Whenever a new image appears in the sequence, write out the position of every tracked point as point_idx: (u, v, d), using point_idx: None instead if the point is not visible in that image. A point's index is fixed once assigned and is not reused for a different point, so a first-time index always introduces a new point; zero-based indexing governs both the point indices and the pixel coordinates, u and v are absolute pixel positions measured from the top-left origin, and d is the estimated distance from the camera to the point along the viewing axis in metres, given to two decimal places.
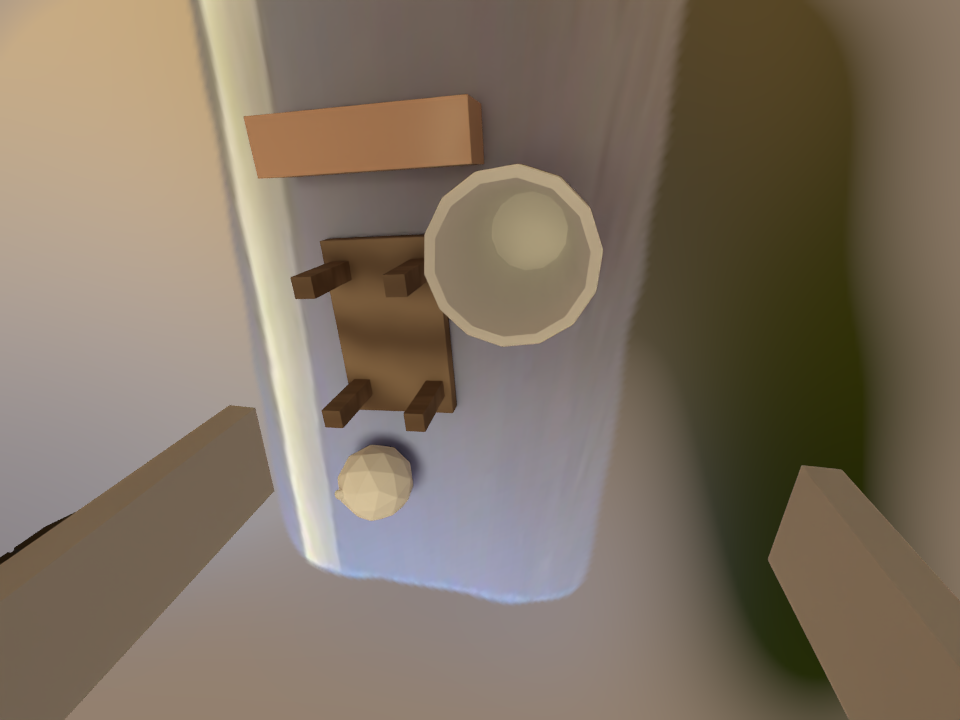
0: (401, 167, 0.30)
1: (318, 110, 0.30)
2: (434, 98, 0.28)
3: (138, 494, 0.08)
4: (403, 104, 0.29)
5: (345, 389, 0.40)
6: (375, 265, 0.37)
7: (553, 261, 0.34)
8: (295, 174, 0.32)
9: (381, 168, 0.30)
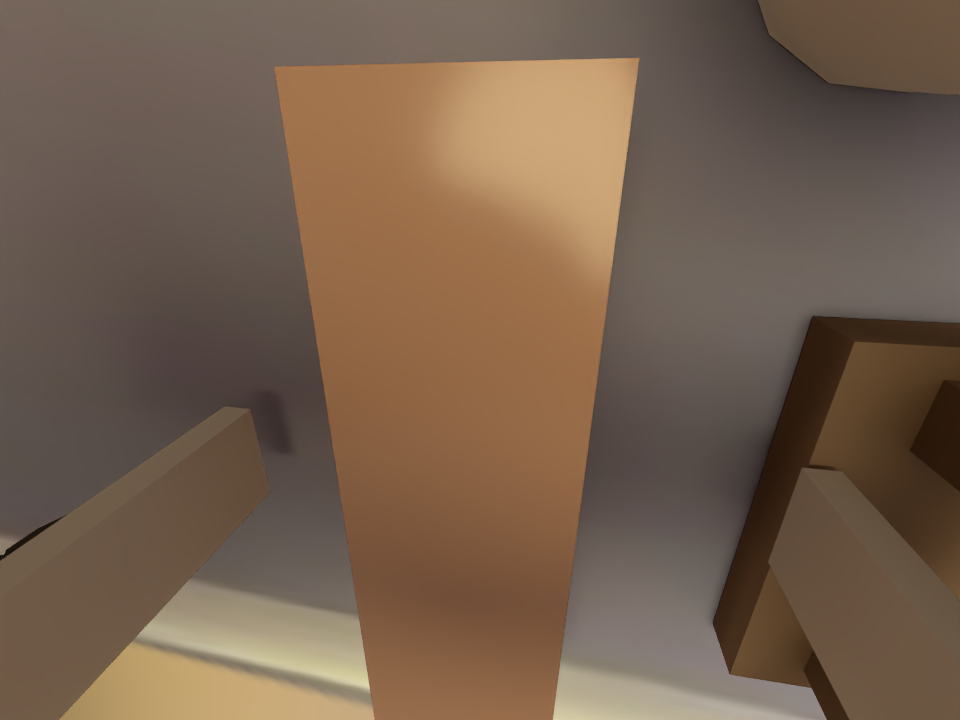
0: (582, 457, 0.06)
1: (367, 649, 0.09)
2: (308, 257, 0.06)
3: (131, 496, 0.08)
4: (338, 397, 0.07)
5: None
6: None
7: None
8: None
9: (571, 531, 0.07)
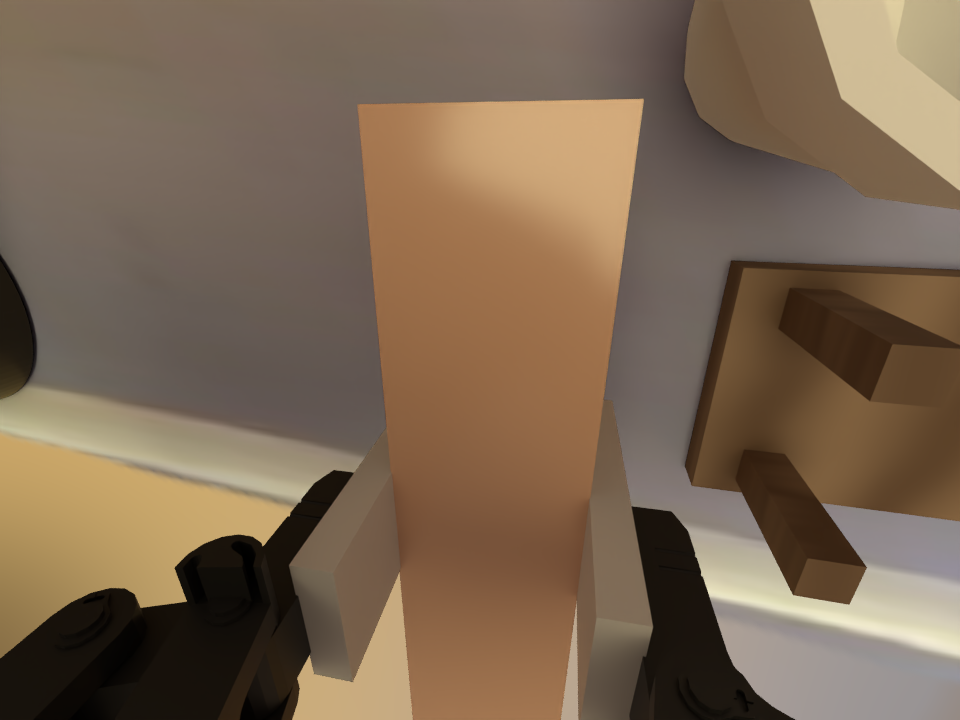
0: (596, 422, 0.08)
1: (405, 599, 0.10)
2: (374, 254, 0.07)
3: None
4: (392, 370, 0.08)
5: None
6: (769, 402, 0.18)
7: None
8: (559, 701, 0.11)
9: (586, 488, 0.08)
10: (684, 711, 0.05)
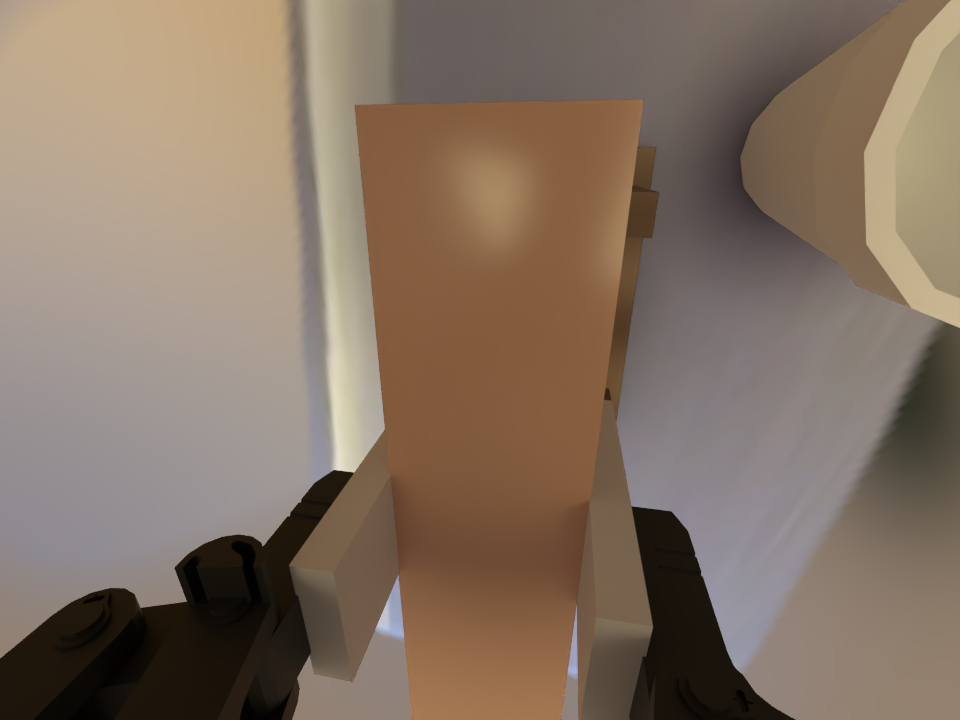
0: (596, 425, 0.08)
1: (404, 603, 0.10)
2: (372, 256, 0.07)
3: None
4: (391, 373, 0.08)
5: None
6: None
7: None
8: (559, 705, 0.11)
9: (586, 491, 0.08)
10: (684, 711, 0.05)
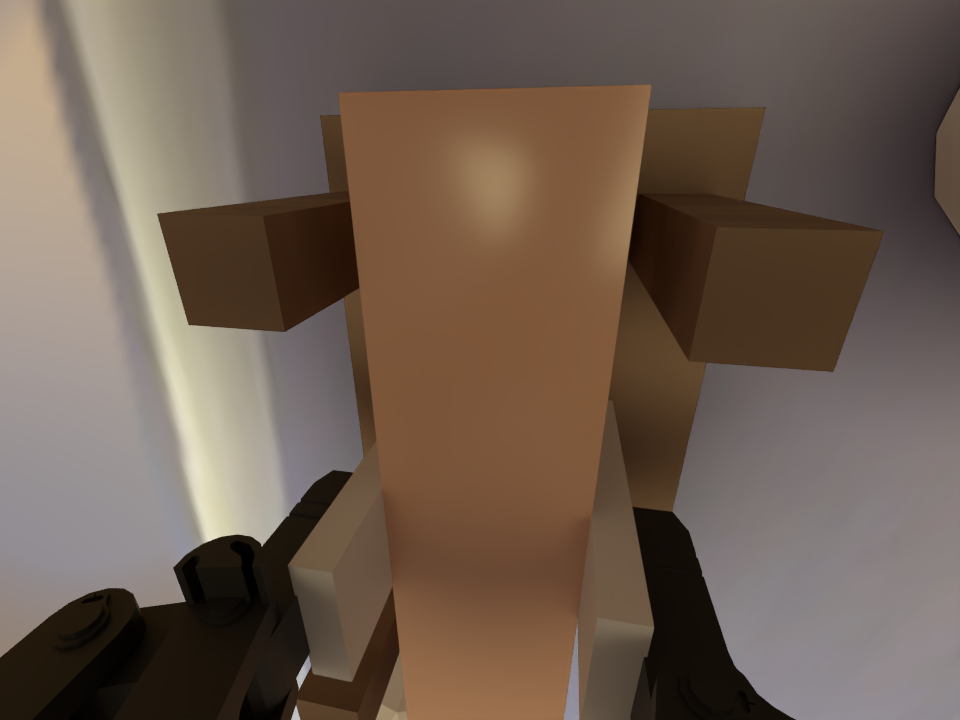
0: (599, 433, 0.07)
1: (399, 614, 0.10)
2: (360, 255, 0.07)
3: None
4: (382, 379, 0.08)
5: None
6: None
7: None
8: (559, 718, 0.11)
9: (588, 502, 0.08)
10: (686, 711, 0.05)
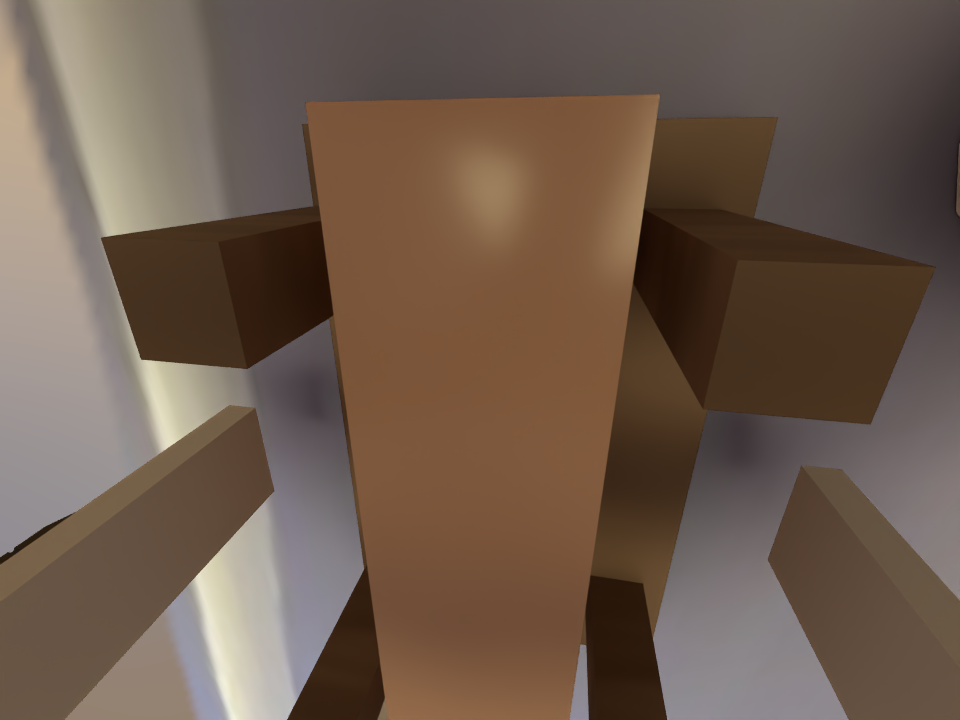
0: (599, 478, 0.07)
1: (383, 661, 0.09)
2: (333, 282, 0.06)
3: (138, 494, 0.08)
4: (360, 415, 0.07)
5: (356, 600, 0.13)
6: None
7: None
8: None
9: (587, 550, 0.07)
10: None
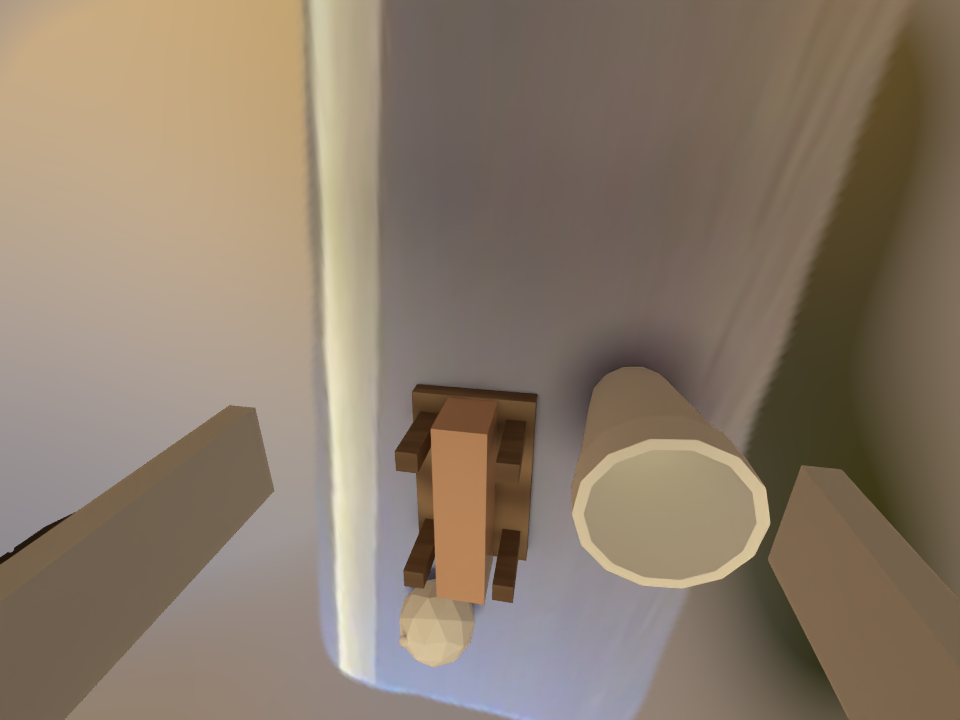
0: (485, 493, 0.32)
1: (435, 543, 0.34)
2: (432, 455, 0.31)
3: (138, 494, 0.08)
4: (435, 479, 0.32)
5: (420, 536, 0.38)
6: None
7: None
8: (483, 576, 0.35)
9: (484, 509, 0.32)
10: None
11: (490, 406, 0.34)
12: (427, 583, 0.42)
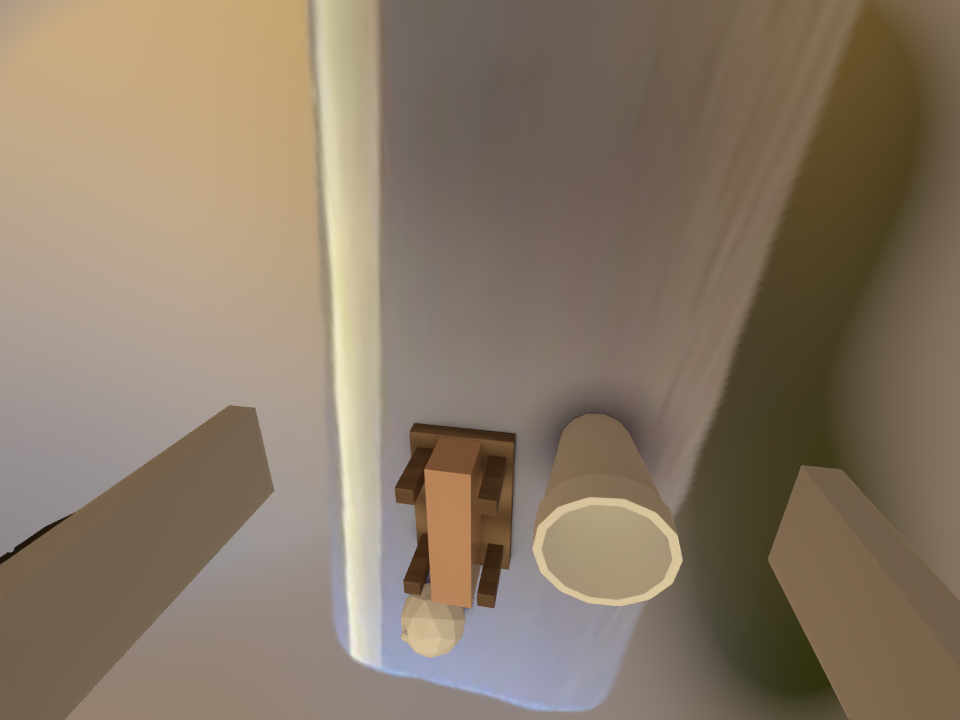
0: (470, 520, 0.38)
1: (430, 559, 0.41)
2: (426, 489, 0.38)
3: (138, 494, 0.08)
4: (428, 509, 0.39)
5: (418, 549, 0.45)
6: None
7: None
8: (470, 586, 0.42)
9: (469, 533, 0.39)
10: None
11: (475, 446, 0.40)
12: (425, 587, 0.49)
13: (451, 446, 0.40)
